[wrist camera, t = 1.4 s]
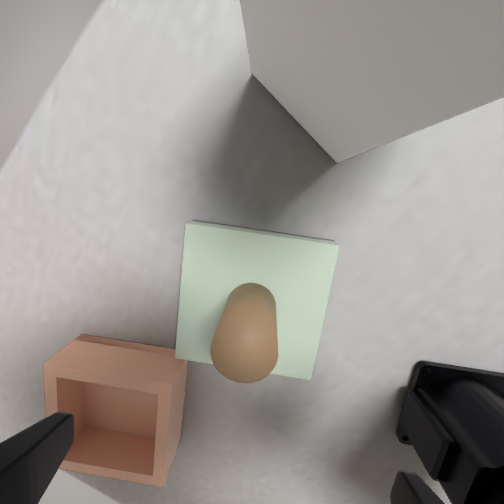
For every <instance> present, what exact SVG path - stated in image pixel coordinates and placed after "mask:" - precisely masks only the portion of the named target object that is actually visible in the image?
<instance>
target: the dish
mask: <svg viewBox="0 0 504 504" xmlns="http://www.w3.org/2000/svg"><path fill="white" fill-rule="evenodd" d="M187 367H188V360H183V359H176V358H175V349H172V348H165V347H159V346H153V345H147V344H140V343H134V342H128V341H122V340H116V339H109V338H103V337H97V336H91V335H84V334H81V335H80V336H79V337H77V338H76V339H75V340H73V341H72V342H71V343H69V344H68V345H67V346H66V347H64V348H63V349H62V350H60V351H59V352H58V353H56V354H55V355H54V356H53V357H51V358H50V359H49V360H47V361H46V362H45V363H43V370H44V392H45V414H46V417H48V416H50V415H52V414H54V413H56V412H59V411H62V412H68V413H72V414H73V415H74V441H73V444H72V446H71V448H70V450H69V451H68V453H67V455H66V456H65V458H64V460H63V462H62V463H61V465H60V467H59V468H58V469H62V470H68V471H74V472H79V473H85V474H91V475H96V476H102V477H108V478H113V479H119V480H125V481H130V482H136V483H142V484H147V485H153V486H159V487H164V486H165V483H166V480H167V478H168V475H169V472H170V469H171V466H172V464H173V461H174V458H175V455H176V452H177V450H178V447H179V444H180V441H181V432H182V421H183V410H184V400H185V389H186V378H187Z"/></svg>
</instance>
